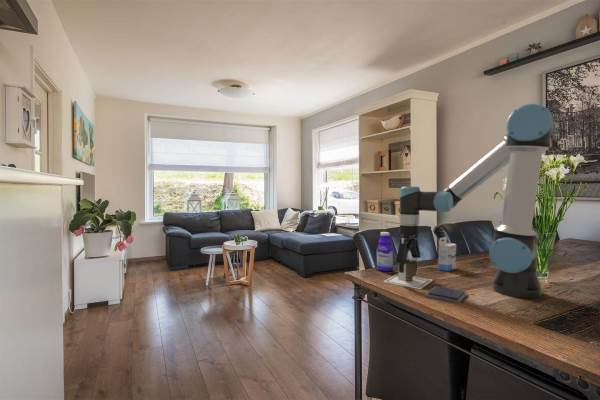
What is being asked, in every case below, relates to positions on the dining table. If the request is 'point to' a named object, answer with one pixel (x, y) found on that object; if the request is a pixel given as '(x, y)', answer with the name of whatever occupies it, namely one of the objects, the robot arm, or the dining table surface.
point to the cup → (411, 269)
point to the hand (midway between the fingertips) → (408, 276)
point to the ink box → (446, 255)
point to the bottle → (385, 253)
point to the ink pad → (446, 294)
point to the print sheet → (409, 282)
